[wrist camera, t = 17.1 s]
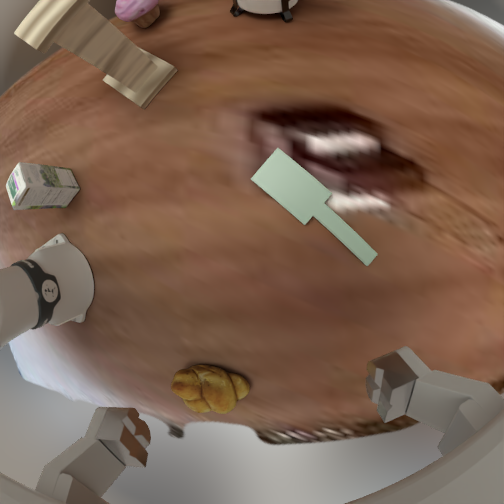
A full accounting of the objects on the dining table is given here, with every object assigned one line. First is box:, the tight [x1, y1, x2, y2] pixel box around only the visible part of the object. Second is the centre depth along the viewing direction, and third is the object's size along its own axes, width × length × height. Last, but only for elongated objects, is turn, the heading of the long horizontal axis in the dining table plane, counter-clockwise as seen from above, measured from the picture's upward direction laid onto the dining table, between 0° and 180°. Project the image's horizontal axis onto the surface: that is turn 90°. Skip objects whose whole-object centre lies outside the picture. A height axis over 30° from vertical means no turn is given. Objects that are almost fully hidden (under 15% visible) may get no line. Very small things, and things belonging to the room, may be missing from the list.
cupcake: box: [115, 0, 160, 28], centre depth 31 cm, size 9×9×10 cm
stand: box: [14, 0, 178, 109], centre depth 25 cm, size 13×9×26 cm
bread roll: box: [171, 365, 250, 414], centre depth 41 cm, size 13×10×8 cm
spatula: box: [251, 148, 378, 266], centre depth 38 cm, size 21×6×2 cm, turn 50°
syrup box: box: [6, 162, 80, 210], centre depth 36 cm, size 6×6×14 cm
